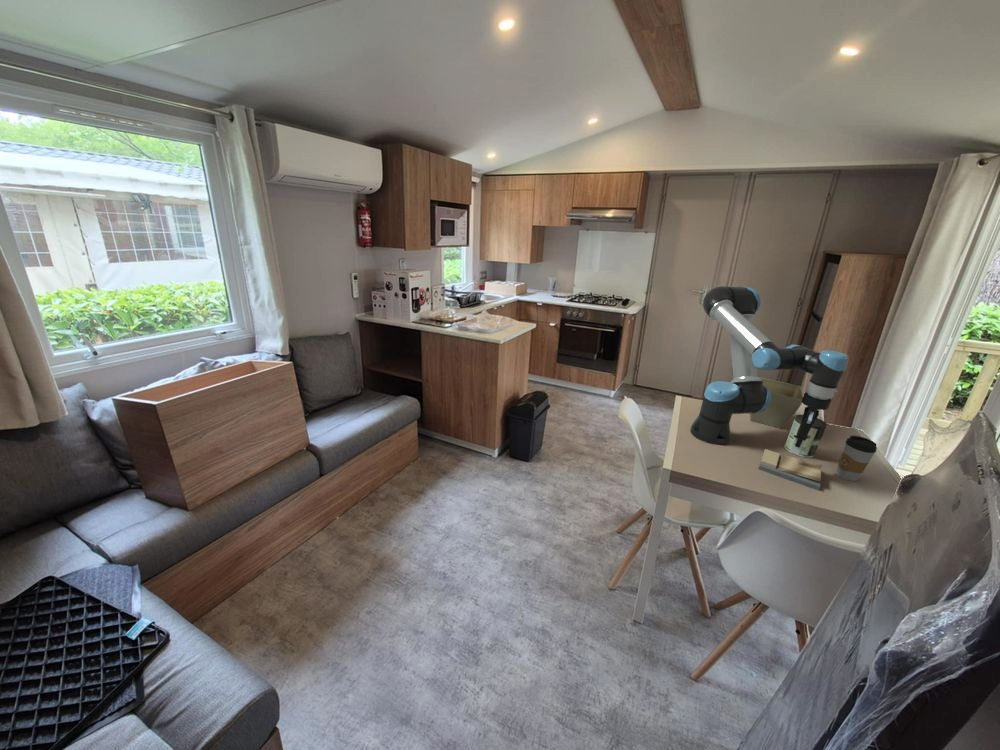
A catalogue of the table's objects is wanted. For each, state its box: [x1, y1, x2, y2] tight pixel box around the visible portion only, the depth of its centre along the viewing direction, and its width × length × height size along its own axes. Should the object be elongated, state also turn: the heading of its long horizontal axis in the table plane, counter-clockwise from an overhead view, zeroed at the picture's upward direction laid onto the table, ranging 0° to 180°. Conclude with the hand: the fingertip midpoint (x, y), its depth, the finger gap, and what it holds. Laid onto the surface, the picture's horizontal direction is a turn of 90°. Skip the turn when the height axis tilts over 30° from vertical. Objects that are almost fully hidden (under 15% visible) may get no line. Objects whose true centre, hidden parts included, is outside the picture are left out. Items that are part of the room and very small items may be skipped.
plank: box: [778, 453, 822, 483], centre depth 142 cm, size 12×11×1 cm
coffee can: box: [784, 414, 828, 459], centre depth 156 cm, size 10×10×14 cm
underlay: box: [758, 448, 821, 491], centre depth 144 cm, size 18×15×3 cm
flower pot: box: [749, 376, 804, 429], centre depth 180 cm, size 19×19×17 cm
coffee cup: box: [836, 435, 878, 482], centre depth 140 cm, size 8×8×15 cm
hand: (794, 452), depth 143 cm, fingers closed
